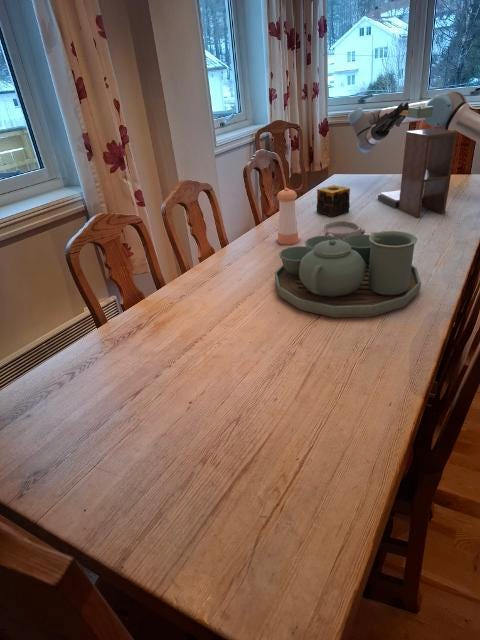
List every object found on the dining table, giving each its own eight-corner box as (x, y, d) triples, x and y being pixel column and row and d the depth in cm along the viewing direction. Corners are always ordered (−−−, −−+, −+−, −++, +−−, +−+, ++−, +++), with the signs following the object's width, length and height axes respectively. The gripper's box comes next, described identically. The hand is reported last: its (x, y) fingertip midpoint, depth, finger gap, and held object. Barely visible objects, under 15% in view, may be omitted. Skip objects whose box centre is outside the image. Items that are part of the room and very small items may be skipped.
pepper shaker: (302, 239, 158) (301, 186, 148) (289, 245, 153) (288, 191, 144) (286, 236, 162) (284, 184, 153) (274, 242, 158) (271, 189, 148)
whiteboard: (425, 203, 183) (426, 196, 181) (395, 208, 181) (396, 200, 179) (406, 195, 196) (406, 188, 194) (377, 199, 194) (378, 192, 192)
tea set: (409, 258, 135) (415, 206, 127) (427, 323, 102) (437, 258, 94) (284, 257, 144) (282, 209, 136) (263, 317, 111) (259, 257, 103)
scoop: (431, 116, 163) (433, 106, 161) (417, 118, 162) (418, 108, 160) (402, 113, 181) (402, 103, 179) (388, 114, 180) (389, 105, 178)
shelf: (444, 213, 170) (457, 131, 155) (417, 217, 168) (427, 135, 153) (424, 204, 182) (434, 127, 167) (398, 208, 180) (406, 131, 165)
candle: (331, 217, 177) (332, 193, 172) (315, 212, 185) (315, 189, 180) (349, 212, 182) (351, 188, 177) (333, 207, 189) (334, 184, 184)
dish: (330, 249, 148) (330, 235, 145) (315, 236, 159) (315, 223, 157) (369, 242, 150) (370, 228, 147) (352, 230, 161) (353, 217, 159)
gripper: (394, 138, 197) (423, 113, 174) (364, 142, 195) (390, 117, 172) (391, 122, 197) (420, 95, 174) (361, 126, 195) (386, 98, 172)
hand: (405, 106), depth 173 cm, fingers closed on scoop, 2 cm apart
